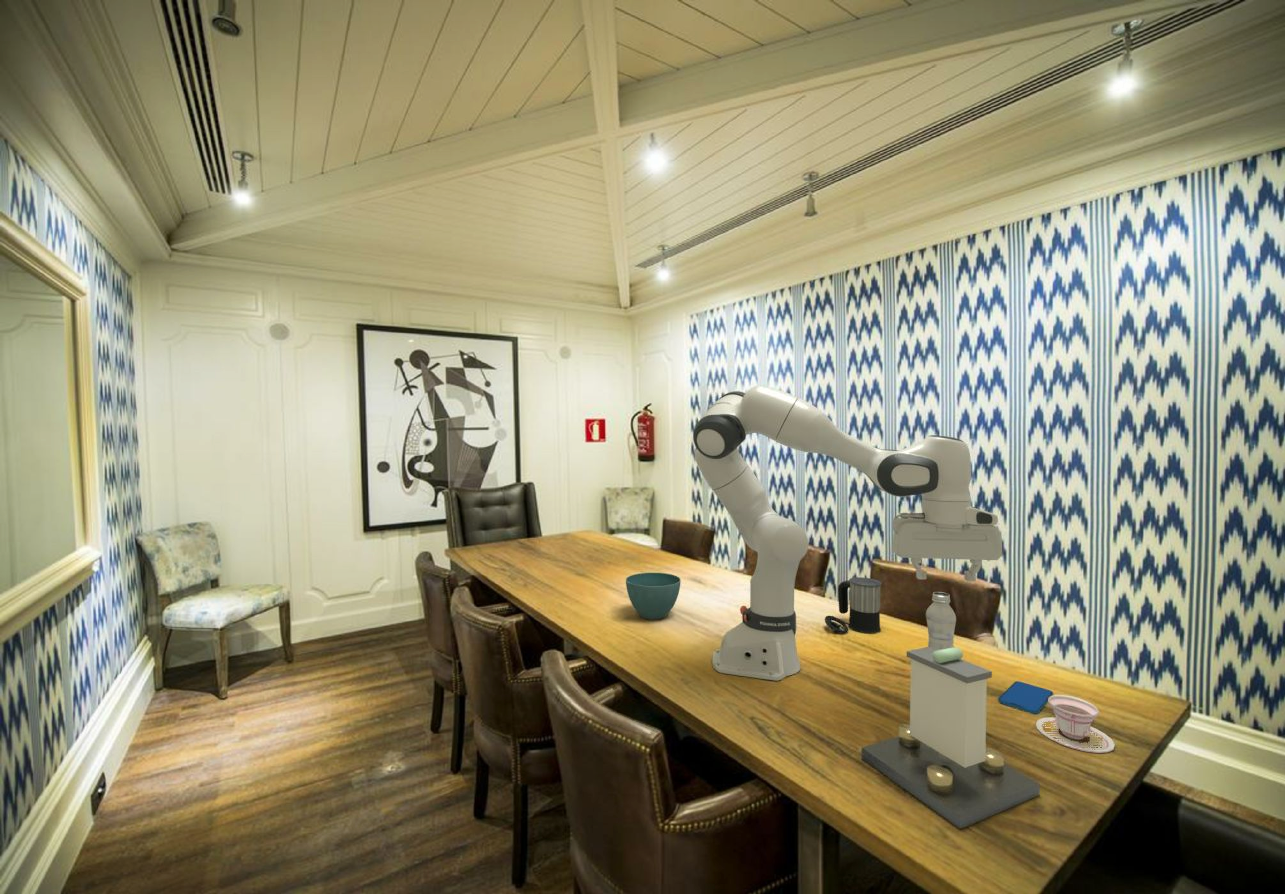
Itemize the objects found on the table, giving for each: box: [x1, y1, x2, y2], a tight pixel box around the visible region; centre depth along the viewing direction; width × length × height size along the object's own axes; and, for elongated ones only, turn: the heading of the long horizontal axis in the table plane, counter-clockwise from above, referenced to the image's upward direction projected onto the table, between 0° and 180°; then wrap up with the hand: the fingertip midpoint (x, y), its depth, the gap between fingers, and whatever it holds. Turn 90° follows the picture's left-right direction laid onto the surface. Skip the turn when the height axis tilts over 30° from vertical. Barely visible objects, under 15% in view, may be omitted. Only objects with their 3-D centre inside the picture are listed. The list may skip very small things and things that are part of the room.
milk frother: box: [824, 576, 882, 634], centre depth 161 cm, size 14×16×15 cm
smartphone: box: [997, 681, 1054, 715], centre depth 118 cm, size 7×1×15 cm
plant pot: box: [625, 572, 682, 621], centre depth 174 cm, size 18×18×12 cm
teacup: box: [1035, 694, 1116, 754], centre depth 103 cm, size 12×12×6 cm
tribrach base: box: [861, 723, 1041, 830], centre depth 91 cm, size 19×19×4 cm
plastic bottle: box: [925, 591, 957, 650], centre depth 130 cm, size 6×7×20 cm
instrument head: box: [906, 646, 993, 768], centre depth 91 cm, size 6×11×20 cm, turn 23°
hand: (945, 579), depth 109 cm, fingers open, 8 cm apart
